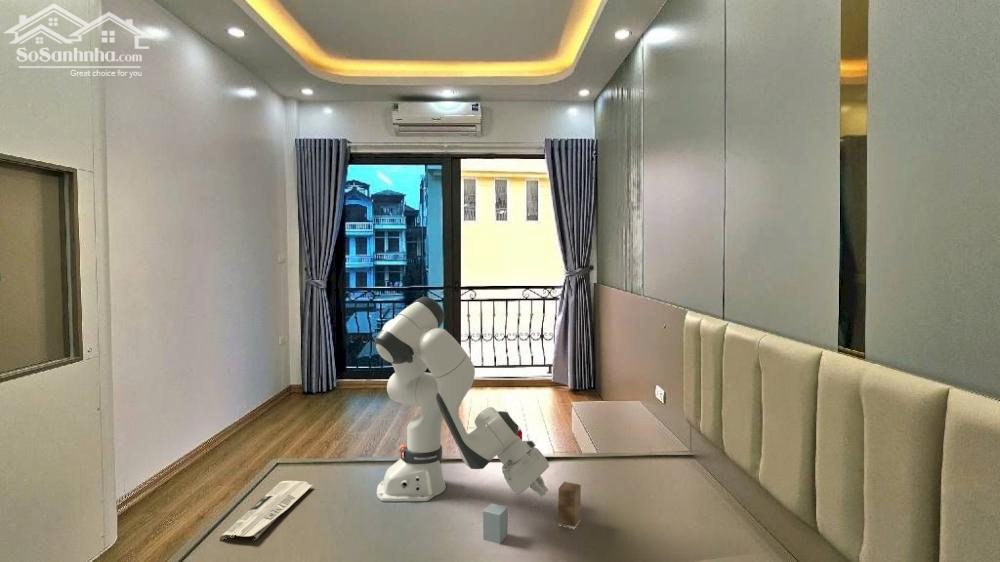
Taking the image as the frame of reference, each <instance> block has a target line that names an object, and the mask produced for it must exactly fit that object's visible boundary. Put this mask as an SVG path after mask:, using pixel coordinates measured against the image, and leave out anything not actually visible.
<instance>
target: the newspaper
mask: <svg viewBox="0 0 1000 562" xmlns="http://www.w3.org/2000/svg"><path fill="white" fill-rule="evenodd" d="M312 486H313V484H310V483H309V482H307V481H305V480H304V481H302V480H301V481H300V480H284V481H280V482H278V483H277V484H276V485H275V486H274V487H273V488H272V489H270V491H268V492H267V493H266V494H265V495H264V496H263V497H261V499H259V501H257V502H256V503H255V504H254V505H253V506H252V507H251V508H250V509H249V510H248V511H247V512H245V514H243V515H242V516H241V517H240V518H239V519H238V520H237V521H235V523H234V524H232V525H231V526H230V527H229V528H228V529H227V530H226V531H225V532H224V533H222V534H221V535H220V536H219V541H223V540H224V539H225V540H228V539H227V538H231V537H233V535H236V537H255V539H254V538H253V539H254V540H253V542H254V541H256V540H257V539H258V538H259V537H260V536H261V535H262V534H263V533H264V532H265V531H266V530H267V529H268V528H269V527H270V526H271V525H272V524H273V523H274V522H275V521H276V520H277V519H278V518H279V517H280V516H281V515H282V514H283V513H285V511H287V510H288V509H289V508H291V506H292V505H294V504H295V503H296V501H298V500H299V499H300V498H301V497H302V496H303V495H304V494H305V493H306V492H307V491H308V490H309V489H310V488H311V487H312ZM230 535H232V536H231V537H230ZM225 540H224V541H225Z"/></svg>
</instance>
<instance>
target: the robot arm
mask: <svg viewBox="0 0 1000 562" xmlns="http://www.w3.org/2000/svg"><path fill="white" fill-rule="evenodd" d="M444 321H445V312H444V310H443V307H442V306H441V305H440V303H439V302H438V301H436V300H435V299H434V298H431V297H429V296H422V297H419V298H417V299H415V300H414V301H413V302H412V303H411V304H409V305H408V306H407V307H405V308H404V309H403V310H402V311H400V312H399V313H398V314H397V315H396V316H394V318H392V319H390V320H388V321H386V323H384V325H383V326H382V329H381V330H380V331H379V332H378V334H377V335H376V337H375V338H374V347H375V350H376V351H377V353H378V355H379V356H380V357H381V358H382V359H383V360H384V361H386V362H387V363H389V364H391V365H392V367H393V370H394V373H392V375H391V376H389V378H388V381H387V384H386V392H387V394H388V397H389V399H390V400H392V401H394V402H396V403H400V404H402V405H408V406H414V407H415V406H417V407H421V414H419V415H417V416H415V417H413V418H412V419H410V421H408V424H407V427H406V446H405V445H404V444H401V445H400V446H399V452H400V458H399V459H398V460H397V461H396V462H394V463H393V464H392V465H390V466H389V467H388V468H387V470H386V471H385V474H384V477H383V480H382V481H380V482H379V483H378V485H377V486H376V487H377V488H376V497H377V498H378V499H379V500H380V501H381V502H428V501H430V500H431V499H433V498H434V497H436V496H438V495H440V494H441V493H443V492H445V490H446V488H447V486H446V483H445V480H444V473H443V467H442V466H443V465H442V463H443V446H442V444H441V443H442V442H441V439H442V437H441V436H442V425H443V421H445V424H446V425H447V428H448V429H449V432H450V434H451V436H452V437H453V439H454V441H455V444H456V447H457V449H458V452H459V453H458V454H459V455H460V458H461V460H462V461H463V463H464V464H465V465H466V467H468V468H470V469H471V470H483V469H485V467H486V466H487V465H488V464H489V463H490V462H491V461H492V460H493V459H494V458H495V457H497V458H498V459H499V461H500V462H501V463H502V466H501V469H502V475H503V477H504V479H505V481H506V483H507V485H508V486H509V488H510V490H511V491H512V492H513V494H514V495H516V496H518V497H519V496H521V495H522V494H523V493H524V492H525V491H526V490H527V489H528V488H530V489H531V490H532V491H534V492H536V493H537V494H538V495H539V496H540V497H544V495H545V494H547V492H549V489H548V487H547V486H546V484H545V481H544V479H543V477H542V476H541V475H542V474H544V472H546V471H547V470H548V469H549V467H550V464H549V461H548V459H547V458H546V457H545V455H544V454H543V452H541V450H539V448H537V447H536V443H535V442H534V440H523V439H522V440H521V439H520V437H518V436H517V434H518V427H519V425H518V424H517V422H515V421H514V420H513V418H512V417H511V416H510V414H509V412H508V411H504V410H503V411H502V410H497V409H495V408H494V407H491V406H490V407H487V408H485V409H483V410H482V411H480V413H478V415H476V417H475V419H474V425H475V427H476V428H475V429H474V430H472V431H471V432H469V433H468V432H467V430H466V428H465V426H464V423H463V422H462V420H461V417H460V414H459V411H460V408H461V404H462V403H463V400H464V399H465V397H466V396H467V394H468V393H469V390H470V389H471V388H472V385H473V383H474V381H475V376H476V375H475V374H476V369H475V366H474V362H472V360H471V357H469V355H468V353H467V352H466V351H465V349H464V348H463V346H461V344H460V343H459V342H458V341H457V339H456V338H455V337H454V336H453V335H451V333H449V332H448V331H447V330H446V329H445V328H443V327H441V326H442V325H443V322H444ZM427 369H428V371H429V372H426V371H427Z"/></svg>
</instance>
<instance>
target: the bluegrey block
mask: <svg viewBox="0 0 1000 562" xmlns="http://www.w3.org/2000/svg"><path fill="white" fill-rule="evenodd" d="M508 510H509V509H508V506H505V505H500V504H496V503H490V504H489V505H488V506H487V507H486V508H485V509H484V510H483V511H482V513H483V515H482V517H483V520H482V521H483V522H482V524H483V528H482V529H483V531H482V535H483V536H482V538H483V540H484V541H487V542H492V543H494V544H497V545H500V544H501V543H502V542H503V541H504V540H505V539H506V538H507V537H508V531H509V530H508V527H509V526H508V525H509V524H508V522H509V520H508V518H509V517H508V512H509V511H508Z"/></svg>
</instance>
